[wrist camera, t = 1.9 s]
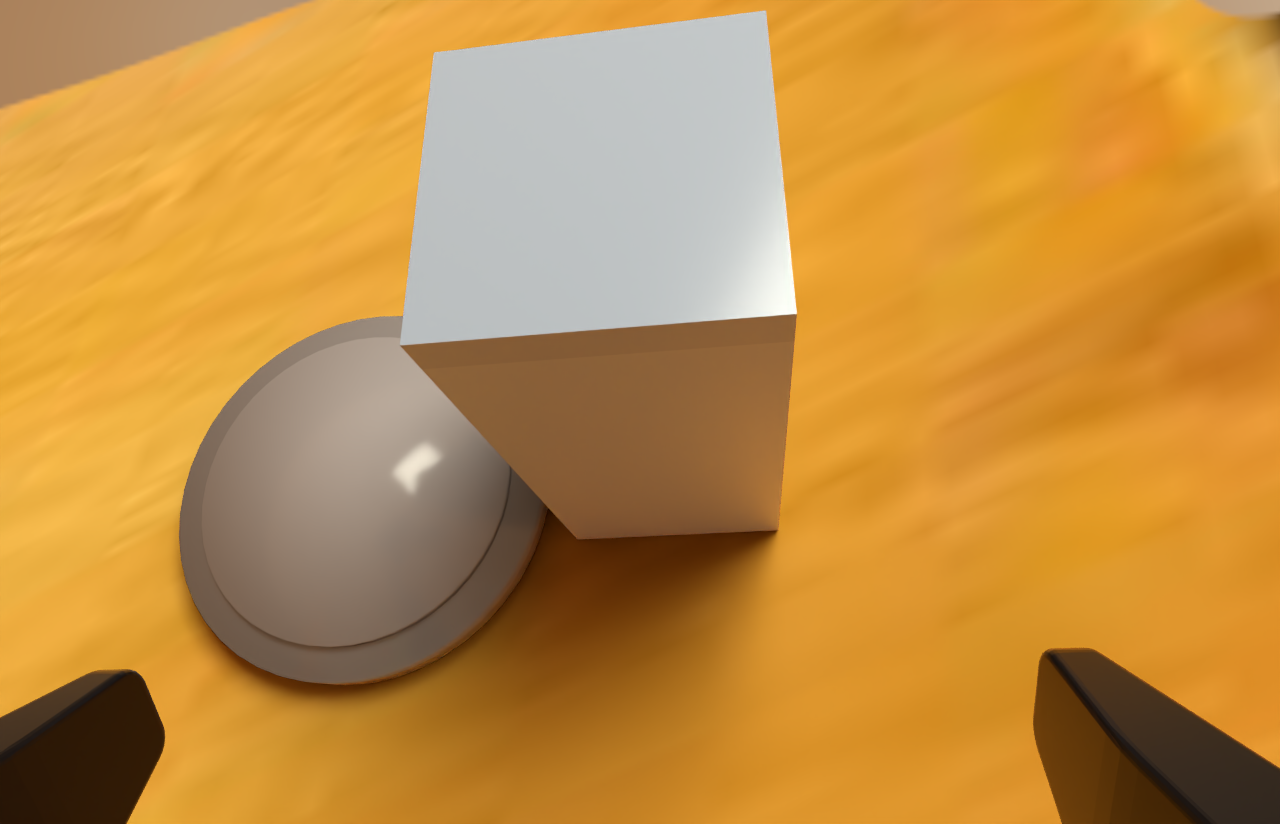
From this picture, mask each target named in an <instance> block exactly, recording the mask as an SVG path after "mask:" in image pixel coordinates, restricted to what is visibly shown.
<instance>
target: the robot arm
mask: <svg viewBox="0 0 1280 824" xmlns="http://www.w3.org/2000/svg"><path fill="white" fill-rule="evenodd" d="M1033 727H1034V735H1035V740H1036V745H1037V748H1038V752H1039V755H1040V758H1041V761H1042V764H1043V767H1044V770H1045V773H1046V776H1047V779H1048V782H1049V785H1050V788H1051V791H1052V794H1053V797H1054V800H1055V803H1056V806H1057V810H1058V813H1059V816H1060V819H1061V822H1062V824H1280V768H1279V767H1277V766H1276V765H1274V764H1273V763H1271V762H1270V761H1268V760H1266V759H1265V758H1263V757H1262V756H1260V755H1259V754H1257V753H1256V752H1254V751H1252V750H1251V749H1249V748H1248V747H1246V746H1245V745H1243V744H1241V743H1240V742H1238V741H1237V740H1235V739H1234V738H1232V737H1231V736H1229V735H1227V734H1226V733H1224V732H1223V731H1221V730H1220V729H1218V728H1217V727H1215V726H1213V725H1212V724H1210V723H1209V722H1207V721H1206V720H1204V719H1202V718H1201V717H1199V716H1198V715H1196V714H1195V713H1193V712H1192V711H1190V710H1188V709H1187V708H1185V707H1184V706H1182V705H1181V704H1179V703H1177V702H1176V701H1174V700H1173V699H1171V698H1170V697H1168V696H1167V695H1165V694H1163V693H1162V692H1160V691H1159V690H1157V689H1156V688H1154V687H1153V686H1151V685H1149V684H1148V683H1146V682H1145V681H1143V680H1142V679H1140V678H1138V677H1137V676H1135V675H1134V674H1132V673H1131V672H1129V671H1128V670H1126V669H1124V668H1123V667H1121V666H1120V665H1118V664H1117V663H1115V662H1114V661H1112V660H1110V659H1109V658H1107V657H1106V656H1104V655H1103V654H1101V653H1099V652H1097V651H1095V650H1093V649H1090V648H1054V649H1048V650H1046V651H1045V652H1044V653H1042V656H1041V658H1040V661H1039V667H1038V677H1037V687H1036V697H1035V706H1034V716H1033ZM164 743H165V730H164V727H163V724H162V722H161V719H160V717H159V714H158V712H157V710H156V707H155V705H154V702H153V700H152V698H151V695H150V693H149V690H148V688H147V686H146V683H145V681H144V679H143V678H142V676H141V675H139V674H138V673H137V672H136V671H132V670H128V669H121V670H98V671H94V672H91V673H88V674H86V675H84V676H82V677H80V678H78V679H76V680H74V681H72V682H70V683H68V684H66V685H64V686H62V687H60V688H58V689H56V690H54V691H52V692H50V693H48V694H46V695H44V696H42V697H40V698H38V699H36V700H34V701H32V702H30V703H28V704H26V705H24V706H22V707H20V708H18V709H16V710H14V711H12V712H10V713H8V714H6V715H4V716H2V717H0V824H127V822H128V820H129V818H130V816H131V814H132V812H133V810H134V808H135V806H136V804H137V802H138V800H139V798H140V796H141V794H142V792H143V790H144V788H145V786H146V784H147V782H148V780H149V778H150V776H151V774H152V772H153V770H154V768H155V766H156V764H157V762H158V760H159V758H160V756H161V754H162V751H163V748H164Z"/></svg>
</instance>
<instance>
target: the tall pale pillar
mask: <svg viewBox="0 0 1280 824" xmlns="http://www.w3.org/2000/svg"><path fill="white" fill-rule="evenodd" d="M796 316H797V312H796V302H795V292H794V283H793V273H792V263H791V253H790V243H789V233H788V224H787V214H786V204H785V194H784V184H783V174H782V165H781V155H780V145H779V135H778V125H777V115H776V106H775V96H774V86H773V76H772V66H771V56H770V47H769V37H768V27H767V17H766V11H759V12H751V13H743V14H735V15H727V16H720V17H712V18H704V19H696V20H688V21H680V22H672V23H664V24H657V25H649V26H641V27H633V28H625V29H617V30H609V31H601V32H594V33H586V34H578V35H570V36H562V37H554V38H546V39H538V40H531V41H523V42H515V43H507V44H499V45H491V46H483V47H475V48H468V49H460V50H452V51H444V52H436V53H434V57H433V65H432V74H431V82H430V91H429V100H428V108H427V117H426V125H425V134H424V142H423V151H422V159H421V168H420V177H419V185H418V194H417V202H416V211H415V219H414V228H413V236H412V245H411V253H410V262H409V271H408V279H407V288H406V296H405V305H404V313H403V322H402V330H401V339H400V346H401V347H402V348H403V350H404V351H405V352H406V353H407V354H408V355H409V356H410V357H411V358H412V359H413V360H414V362H415V363H416V364H417V365H418V366H419V367H420V368H421V369H422V370H423V371H424V372H425V374H426V375H427V376H428V377H429V378H430V379H431V380H432V381H433V382H434V383H435V384H436V386H437V387H438V388H439V389H440V390H441V391H442V392H443V393H444V394H445V395H446V397H447V398H448V399H449V400H450V401H451V402H452V403H453V404H454V405H455V406H456V407H457V409H458V410H459V411H460V412H461V413H462V414H463V415H464V416H465V417H466V418H467V419H468V421H469V422H470V423H471V424H472V425H473V426H474V427H475V428H476V429H477V430H478V431H479V433H480V434H481V435H482V436H483V437H484V438H485V439H486V440H487V441H488V442H489V443H490V445H491V446H492V447H493V448H494V449H495V450H496V451H497V452H498V453H499V454H500V456H501V457H502V458H503V459H504V460H505V461H506V462H507V463H508V464H509V465H510V466H511V468H512V469H513V470H514V471H515V472H516V473H517V474H518V475H519V476H520V477H521V478H522V480H523V481H524V482H525V483H526V484H527V485H528V486H529V487H530V488H531V489H532V490H533V492H534V493H535V494H536V495H537V496H538V497H539V498H540V499H541V500H542V501H543V503H544V504H545V505H546V506H547V507H548V508H549V509H550V510H551V511H552V512H553V513H554V515H555V516H556V517H557V518H558V519H559V520H560V521H561V522H562V523H563V524H564V525H565V527H566V528H567V529H568V530H569V531H570V532H571V533H572V534H573V535H574V536H575V537H576V539H577V540H578V539H600V538H621V537H643V536H664V535H686V534H708V533H729V532H751V531H773V530H778V527H779V515H780V504H781V492H782V480H783V469H784V457H785V445H786V433H787V422H788V410H789V398H790V386H791V375H792V363H793V351H794V340H795V328H796Z"/></svg>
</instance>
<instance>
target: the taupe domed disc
mask: <svg viewBox="0 0 1280 824" xmlns="http://www.w3.org/2000/svg"><path fill="white" fill-rule="evenodd" d="M402 322H403V316H394V317H375V318H367V319H360V320H356V321H352V322H348V323H344V324H340V325H337V326H334V327H331V328H329V329H326V330H323V331H320V332H318V333H316V334H314V335H312V336H310V337H308V338H306V339H304V340H302V341H299V342H297V343H296V344H294V345H293V346H291V347H289V348H288V349H286V350H285V351H283V352H281V353H280V354H278V355H277V356H276V357H274V358H273V359H272V360H270V361H269V362H268V363H266V364H265V365H264V366H263V367H261V368H260V369H259V370H258V371H257V372H256V373H255V374H254V375H252V376H251V377H250V378H249V379H248V380H247V381H246V382H245V383H244V384H243V385H242V386H241V387H240V388H239V389H238V391H237V392H236V393H235V394H234V395H233V396H232V398H231V399H230V400H229V401H228V402H227V403H226V405H225V406H224V407H223V409H222V410H221V412H220V413H219V415H218V416H217V417H216V419H215V420H214V422H213V423H212V425H211V427H210V428H209V430H208V432H207V434H206V436H205V438H204V439H203V441H202V443H201V445H200V447H199V449H198V452H197V454H196V457H195V459H194V461H193V464H192V466H191V469H190V472H189V476H188V479H187V482H186V486H185V489H184V495H183V500H182V506H181V512H180V530H179V540H180V552H181V561H182V566H183V570H184V574H185V579H186V583H187V585H188V588H189V590H190V593H191V595H192V598H193V601H194V603H195V605H196V607H197V608H198V610H199V612H200V613H201V615H202V617H203V619H204V620H205V622H206V623H207V625H208V626H209V627H210V628H211V629H212V631H213V632H214V633H215V634H216V635H217V637H218V638H219V639H220V640H221V641H222V642H223V643H224V644H225V645H227V646H228V647H229V648H230V649H231V650H232V651H233V652H235V653H236V654H237V655H238V656H240V657H242V658H243V659H245V660H246V661H248V662H250V663H251V664H253V665H255V666H256V667H258V668H261V669H263V670H266V671H268V672H271V673H273V674H276V675H278V676H281V677H286V678H290V679H295V680H299V681H304V682H311V683H319V684H333V685H356V684H369V683H374V682H379V681H383V680H388V679H392V678H396V677H399V676H402V675H404V674H407V673H410V672H412V671H415V670H418V669H420V668H422V667H424V666H426V665H428V664H430V663H432V662H434V661H436V660H438V659H440V658H442V657H444V656H445V655H446V654H448V653H449V652H451V651H452V650H454V649H455V648H457V647H458V646H460V645H461V644H462V643H464V642H465V641H467V640H468V639H469V638H470V637H471V636H472V635H473V634H475V633H476V632H477V631H478V630H479V629H480V628H481V627H482V626H484V625H485V624H486V623H487V622H488V621H489V620H490V618H491V617H492V616H493V615H494V614H495V613H496V612H497V611H498V609H499V608H500V607H501V606H502V605H503V604H504V603H505V601H506V600H507V598H508V597H509V596H510V594H511V593H512V591H513V590H514V588H515V587H516V586H517V584H518V583H519V581H520V580H521V578H522V576H523V574H524V572H525V570H526V568H527V566H528V564H529V563H530V561H531V559H532V557H533V554H534V552H535V549H536V546H537V544H538V541H539V539H540V536H541V533H542V530H543V525H544V521H545V517H546V513H547V509H548V507H547V506H546V505H545V504H544V503H543V501H542V500H541V499H540V498H539V497H538V496H537V495H536V494H535V493H534V492H533V490H532V489H531V488H530V487H529V486H528V485H527V484H526V483H525V482H524V481H523V480H522V478H521V477H520V476H519V475H518V474H517V473H516V472H515V471H514V470H513V469H512V468H511V466H510V465H509V464H508V463H507V462H506V461H505V460H504V459H503V458H502V457H501V456H500V454H499V453H498V452H497V451H496V450H495V449H494V448H493V447H492V446H491V445H490V443H489V442H488V441H487V440H486V439H485V438H484V437H483V436H482V435H481V434H480V433H479V431H478V430H477V429H476V428H475V427H474V426H473V425H472V424H471V423H470V422H469V421H468V419H467V418H466V417H465V416H464V415H463V414H462V413H461V412H460V411H459V410H458V409H457V407H456V406H455V405H454V404H453V403H452V402H451V401H450V400H449V399H448V398H447V397H446V395H445V394H444V393H443V392H442V391H441V390H440V389H439V388H438V387H437V386H436V384H435V383H434V382H433V381H432V380H431V379H430V378H429V377H428V376H427V375H426V374H425V372H424V371H423V370H422V369H421V368H420V367H419V366H418V365H417V364H416V363H415V362H414V360H413V359H412V358H411V357H410V356H409V355H408V354H407V353H406V352H405V351H404V350H403V348H402V347H401V346H400V339H401V330H402Z"/></svg>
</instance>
